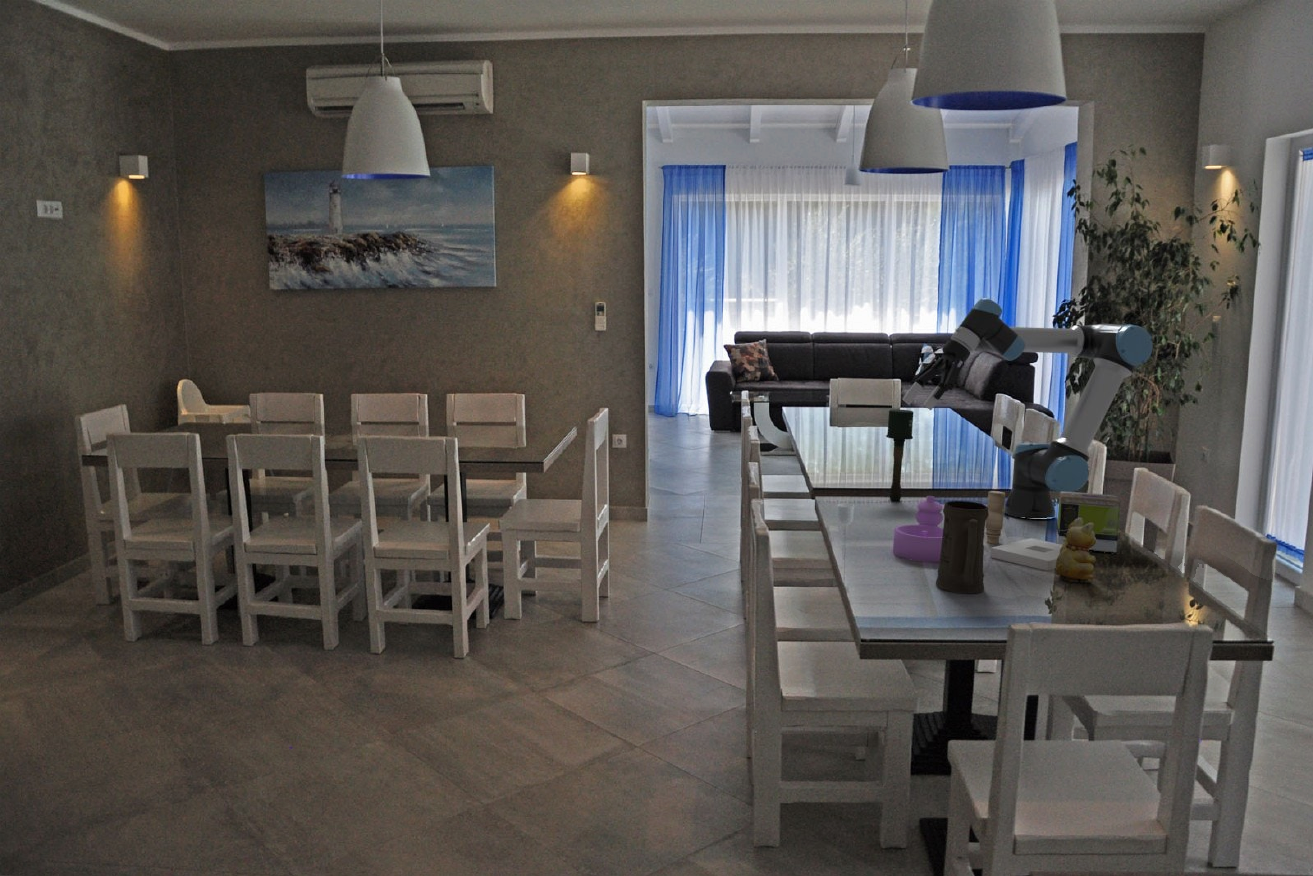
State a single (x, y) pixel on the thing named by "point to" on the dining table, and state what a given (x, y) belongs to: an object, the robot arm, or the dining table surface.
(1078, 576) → the decorative figurine
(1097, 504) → the tea box
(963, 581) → the beer stein
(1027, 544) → the hole board
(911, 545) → the container set
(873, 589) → the dining table surface
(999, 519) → the oak peg
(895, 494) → the stick grenade
